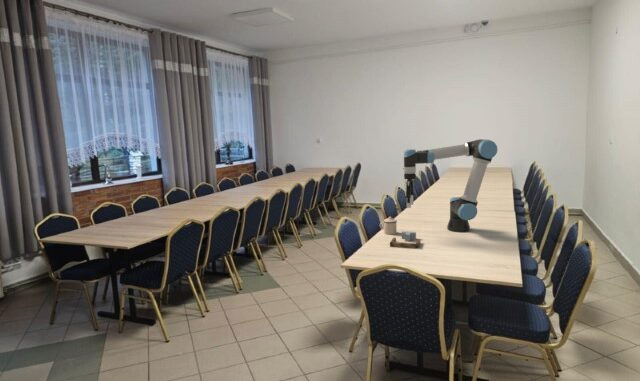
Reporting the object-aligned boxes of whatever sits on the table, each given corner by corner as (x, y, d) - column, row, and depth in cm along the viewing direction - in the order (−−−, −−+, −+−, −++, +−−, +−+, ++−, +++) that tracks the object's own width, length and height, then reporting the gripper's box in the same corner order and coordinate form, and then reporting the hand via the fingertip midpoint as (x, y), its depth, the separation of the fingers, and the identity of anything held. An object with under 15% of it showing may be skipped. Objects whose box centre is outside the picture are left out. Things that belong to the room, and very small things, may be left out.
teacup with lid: (398, 231, 283) (398, 215, 281) (395, 235, 275) (394, 218, 273) (381, 230, 288) (381, 214, 286) (378, 233, 280) (377, 217, 278)
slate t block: (416, 238, 265) (416, 231, 264) (414, 241, 258) (414, 234, 257) (402, 237, 268) (402, 231, 268) (400, 240, 261) (400, 234, 260)
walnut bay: (420, 242, 254) (420, 239, 254) (417, 248, 243) (417, 244, 243) (393, 241, 260) (393, 237, 260) (390, 246, 249) (389, 242, 249)
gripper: (406, 171, 276) (407, 202, 280) (401, 174, 256) (401, 209, 259) (417, 171, 274) (417, 203, 277) (413, 175, 253) (413, 209, 257)
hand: (410, 206), depth 268 cm, fingers open, 10 cm apart
